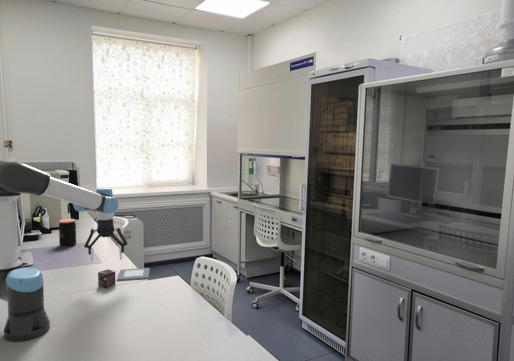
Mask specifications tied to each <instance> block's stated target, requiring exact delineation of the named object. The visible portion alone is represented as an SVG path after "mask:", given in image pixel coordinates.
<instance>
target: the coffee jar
mask: <svg viewBox="0 0 514 361" xmlns="http://www.w3.org/2000/svg"><path fill="white" fill-rule="evenodd" d="M58 223H59V224H58V237H59V238H58V239H59V243H58V244H59V245H60V247H61V246H70V247H74V246H76V244H77V224H76V219H74V218H65V219H60V220H58ZM73 245H74V246H73Z"/></svg>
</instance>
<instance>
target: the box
mask: <svg viewBox="0 0 514 361" xmlns="http://www.w3.org/2000/svg"><path fill="white" fill-rule="evenodd" d="M97 284H98V285H97V287H99V288H102V289H103V288H104V289H109V288H111V287H114V286H116V270H113V269H112V270H111V269H105V270H101V271H99V272H98V273H97Z"/></svg>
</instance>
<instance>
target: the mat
mask: <svg viewBox="0 0 514 361" xmlns="http://www.w3.org/2000/svg"><path fill="white" fill-rule="evenodd" d="M150 269H151V268H150V267H143V268H141V267H140V268H128V269H127V268H126V269H124V268H122V269H120V271H119V272H118V275H117V278H116V281H117V282H119V281H120V282H121V281H134V280H136V281H137V280H149V277H150Z"/></svg>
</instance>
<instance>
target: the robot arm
mask: <svg viewBox="0 0 514 361" xmlns="http://www.w3.org/2000/svg"><path fill="white" fill-rule="evenodd" d="M22 194H27V195H31V196H36V197H40V196H46V197H49V198H53V199H57V200H60V201H63V202H66V203H70V204H72V206H73V208H74V210H75V211H77V212H86V211H90V212H95V213H96V217H97V220H96V222H97V228H94V227H92V228H91V229H90V234H89V236H88V238H87V240H85V241H86V242H85V243H84V246H83V247H84V248H87V249H88V250H87V251H88V255H90V262H94V260H95V258H94V256H95V254H94V247H93V246H94V244H96V242H97V241H98V240H99V239H100V237H101V238H110V237H111V238H112V239H113V240H114V241H115V242H116V243H117V244H118V245H119V260H120V261H121V260H122V259H123V254H124V252H125V246H127V245H128V241H127V239H126V237H125V236H124V234H123V233H122V229H121V226H118V227H114V226H115V225H114V224H115V223H114V213H116V212H117V211H118V209H119V200H118V199H117V198H116V197H114V196H113V189H112V188H111V187H99V188H96V190H95V191H92V190H89V189H87V188H84V187H81V186H78V185H75V184H72V183H69V182H66V181H64V180H60V179H58V178H55V177H52V176H51V175H50V174H49V173H48V172H45V171H44V170H43V171H42V170H40V169H38V168H35V167H33V166H31V165H29V164H26V163H22V162H19V161H5V160H0V300H1V301H4V302H7V314H8V315H7V318H6V322H5V324H4V325H5V326H4V327H3V338H4V339H5V340H6V341H9V342H24V341H28V340H31V339H36V338H38V337H40V336H42V335H44V334H46V333H47V332H48V331H49V330H50V328H51V321H50V318H49V316H48V314H47V312H46V310H45V298H44V296H45V295H44V276H43V273H42V271H40V269H38V268H35V267H24V266H23V261H22V260H21V259H20V258H19V257H18V256H19V252H18V250H19V248H18V246H19V245H18V210H17V209H18V208H17V207H18V206H17V204H18V203H17V200H18V199H19V198H20V197H21V195H22ZM96 232H97V233H98V235H97V236H96V237H95V238H94V240H93V241H92V242H91V240H92V238H93V236H94V234H95V233H96ZM114 232H117V234H118V236H119V238H118V236H116V234H115V233H114ZM90 242H91V243H90Z"/></svg>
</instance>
